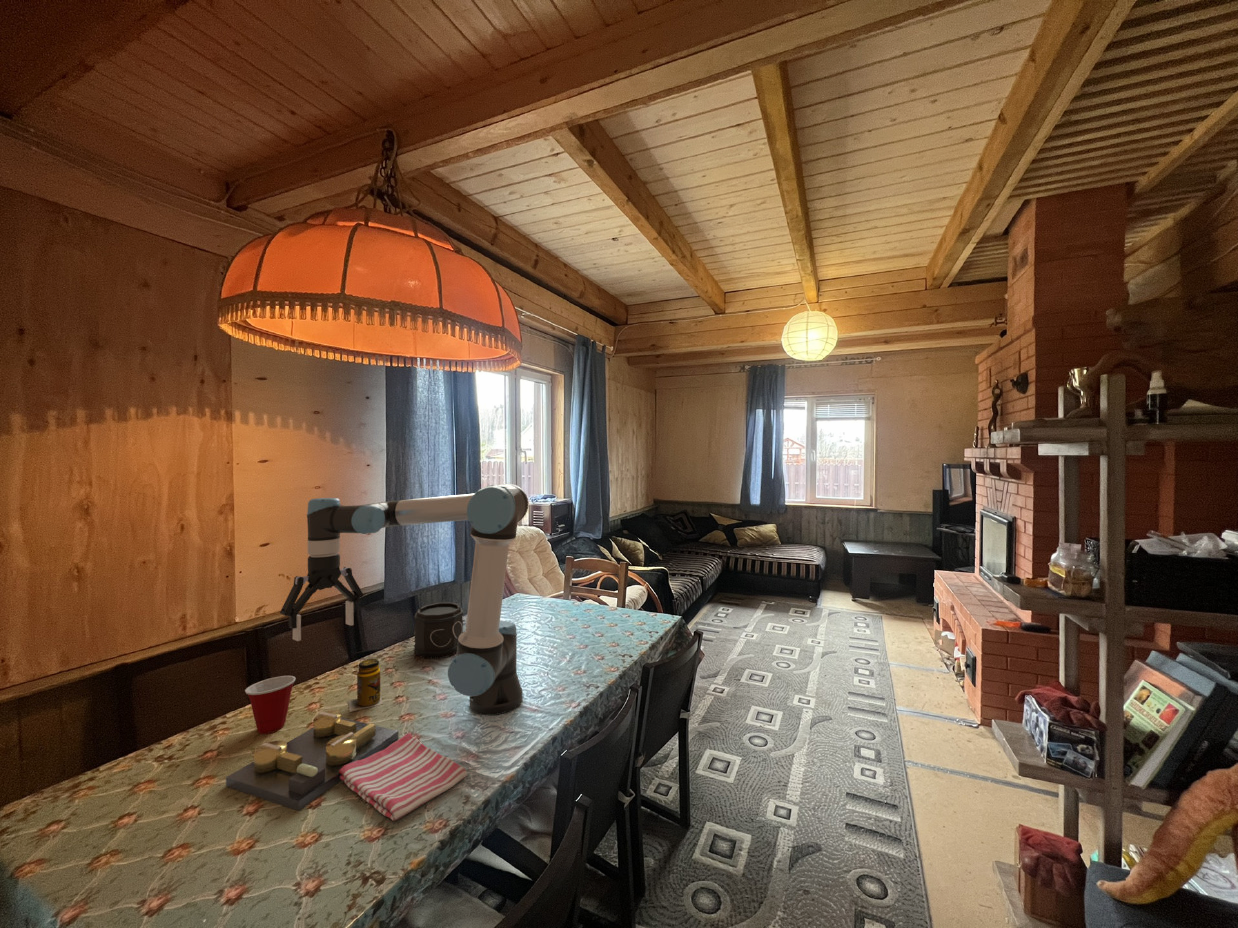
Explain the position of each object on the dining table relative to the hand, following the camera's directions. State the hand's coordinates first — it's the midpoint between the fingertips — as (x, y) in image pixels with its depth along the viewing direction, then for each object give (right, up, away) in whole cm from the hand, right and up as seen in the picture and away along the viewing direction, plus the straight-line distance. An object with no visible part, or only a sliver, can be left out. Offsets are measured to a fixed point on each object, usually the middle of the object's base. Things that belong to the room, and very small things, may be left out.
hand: (324, 631), depth 128 cm
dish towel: (+33, -24, -25) cm, 48 cm away
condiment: (+6, -24, +9) cm, 27 cm away
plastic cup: (-12, -24, -4) cm, 27 cm away
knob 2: (+9, -22, -10) cm, 26 cm away
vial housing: (+15, -22, -29) cm, 39 cm away
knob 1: (+5, -22, -23) cm, 32 cm away
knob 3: (+18, -22, -17) cm, 33 cm away
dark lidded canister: (+14, -24, +48) cm, 55 cm away
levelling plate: (+10, -24, -18) cm, 32 cm away
